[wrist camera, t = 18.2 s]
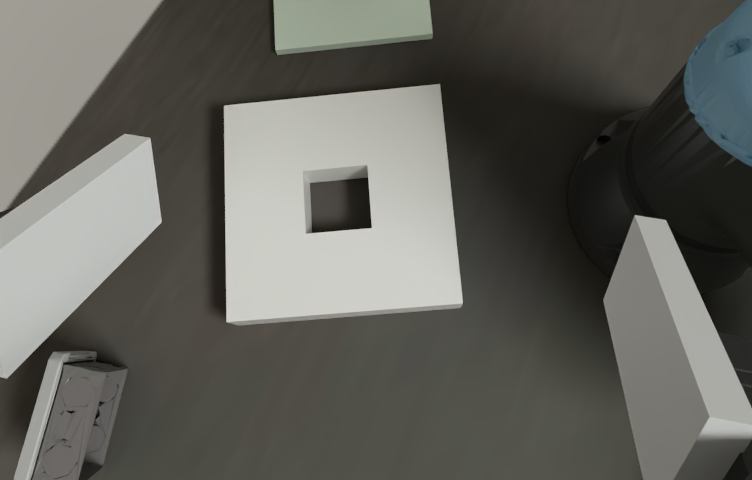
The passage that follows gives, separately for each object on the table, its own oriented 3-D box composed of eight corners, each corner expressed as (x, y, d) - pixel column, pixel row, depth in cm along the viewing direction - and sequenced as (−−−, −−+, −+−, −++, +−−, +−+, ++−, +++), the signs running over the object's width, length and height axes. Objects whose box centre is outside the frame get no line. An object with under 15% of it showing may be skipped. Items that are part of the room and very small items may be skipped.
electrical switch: (89, 349, 48) (25, 346, 39) (150, 360, 48) (101, 360, 39) (56, 468, 46) (-19, 493, 37) (120, 480, 46) (61, 508, 37)
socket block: (438, 100, 51) (439, 83, 48) (460, 307, 47) (462, 303, 44) (234, 120, 52) (223, 105, 49) (238, 325, 48) (226, 322, 45)
